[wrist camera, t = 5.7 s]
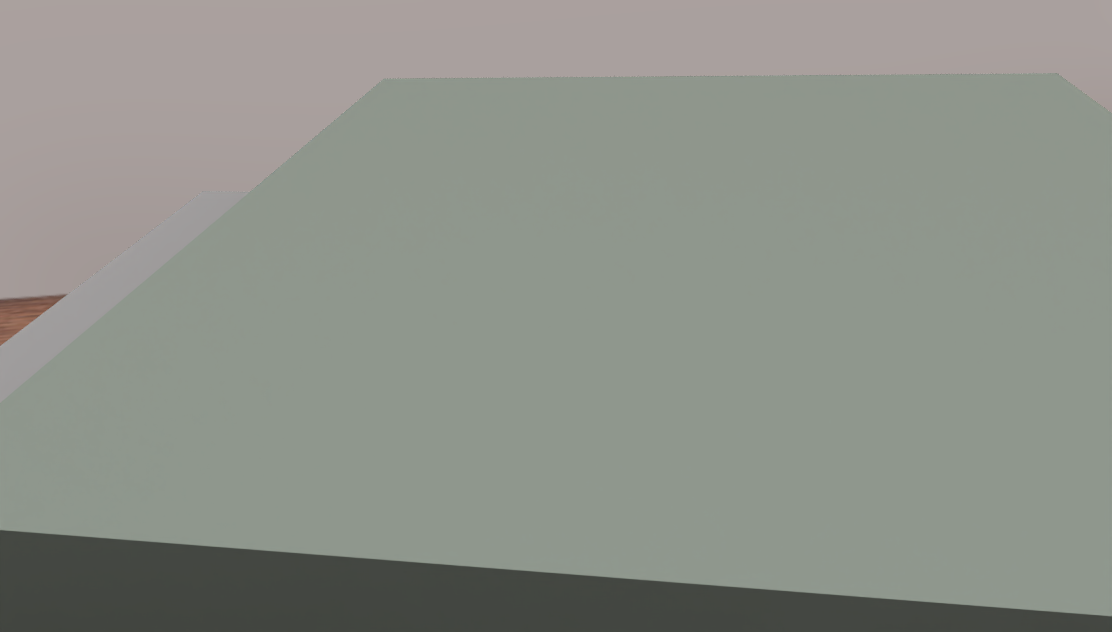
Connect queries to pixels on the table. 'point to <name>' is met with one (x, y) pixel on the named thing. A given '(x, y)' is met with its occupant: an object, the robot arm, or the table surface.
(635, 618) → the sage green cube
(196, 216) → the robot arm
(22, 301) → the table surface
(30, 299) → the table surface
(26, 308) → the table surface
